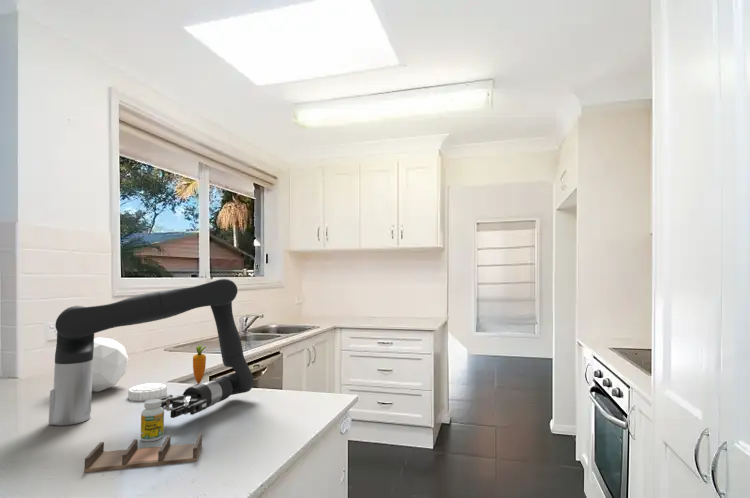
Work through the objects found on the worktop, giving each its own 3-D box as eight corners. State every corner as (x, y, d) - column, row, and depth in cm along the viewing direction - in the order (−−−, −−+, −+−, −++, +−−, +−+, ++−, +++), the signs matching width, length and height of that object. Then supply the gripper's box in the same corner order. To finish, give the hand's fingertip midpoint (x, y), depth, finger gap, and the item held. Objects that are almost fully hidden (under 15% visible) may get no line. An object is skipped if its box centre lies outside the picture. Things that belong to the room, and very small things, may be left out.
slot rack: (84, 472, 92) (84, 458, 92) (99, 455, 100) (99, 442, 101) (196, 461, 98) (197, 447, 98) (202, 445, 106) (202, 433, 106)
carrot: (194, 382, 167) (195, 344, 168) (207, 382, 168) (208, 343, 169) (189, 385, 162) (191, 346, 163) (203, 385, 163) (204, 346, 164)
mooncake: (174, 393, 153) (174, 382, 154) (149, 402, 142) (150, 391, 142) (145, 390, 156) (146, 380, 156) (119, 400, 144) (119, 389, 144)
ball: (106, 410, 154) (113, 372, 145) (50, 392, 151) (54, 352, 143) (135, 373, 171) (143, 337, 162) (85, 356, 168) (90, 319, 160)
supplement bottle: (162, 432, 115) (163, 396, 115) (164, 439, 110) (165, 401, 111) (139, 436, 112) (140, 400, 112) (141, 443, 107) (142, 405, 108)
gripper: (184, 381, 131) (139, 395, 116) (222, 385, 126) (180, 400, 111) (184, 405, 131) (138, 423, 116) (221, 411, 126) (179, 430, 111)
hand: (159, 412), depth 113 cm, fingers open, 8 cm apart
